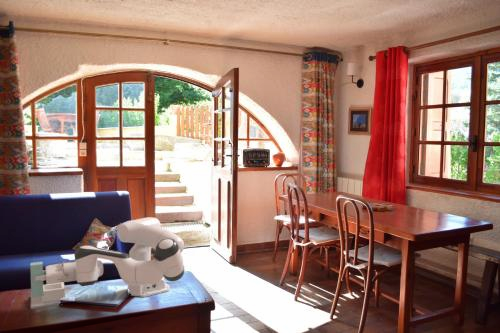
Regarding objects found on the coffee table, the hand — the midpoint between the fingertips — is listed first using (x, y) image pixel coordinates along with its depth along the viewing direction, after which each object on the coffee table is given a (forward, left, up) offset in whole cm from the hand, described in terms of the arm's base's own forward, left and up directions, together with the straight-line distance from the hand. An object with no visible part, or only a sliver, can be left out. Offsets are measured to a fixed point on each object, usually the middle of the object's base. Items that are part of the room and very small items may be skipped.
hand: (34, 276), depth 196 cm
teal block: (-1, 0, -9) cm, 9 cm away
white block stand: (-8, -14, -17) cm, 23 cm away
